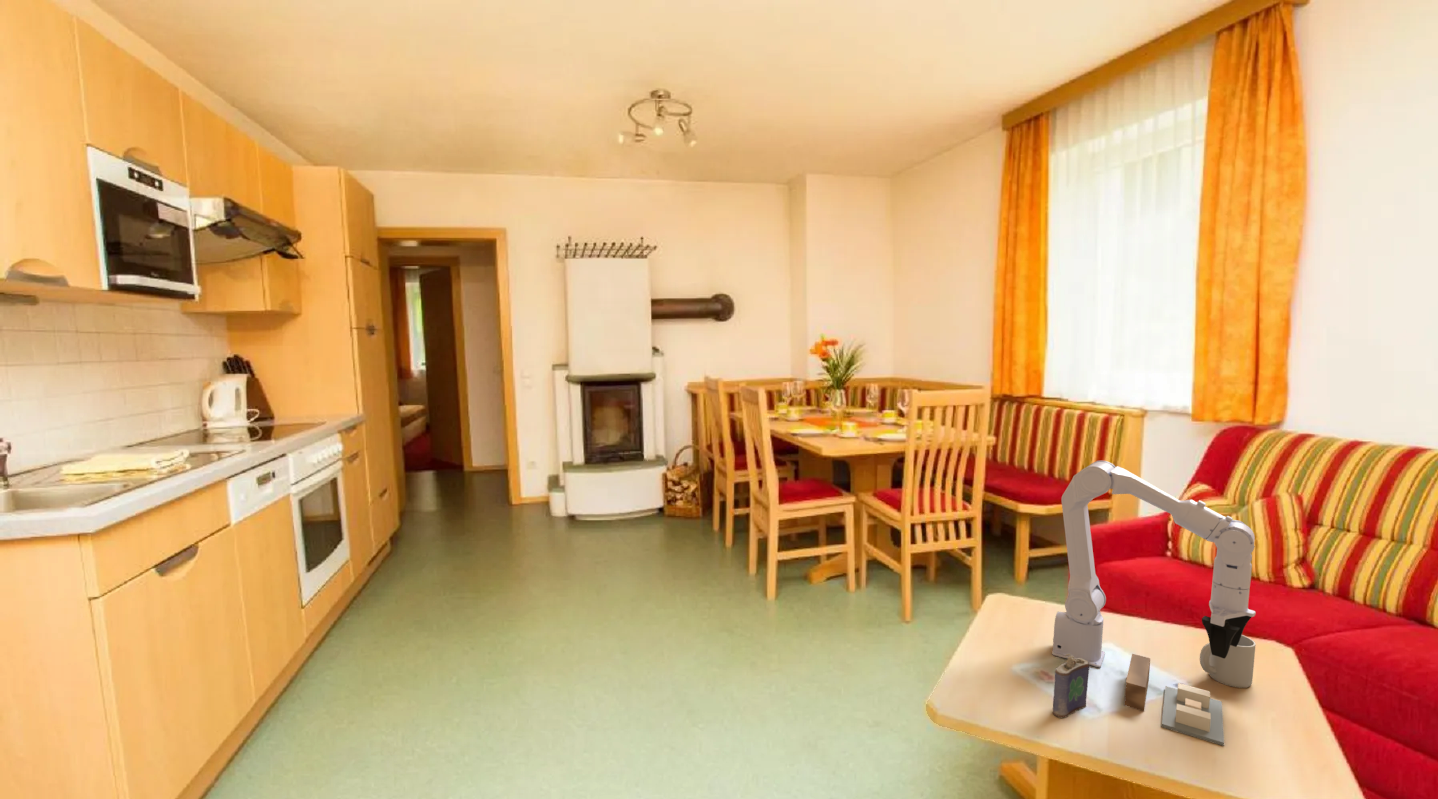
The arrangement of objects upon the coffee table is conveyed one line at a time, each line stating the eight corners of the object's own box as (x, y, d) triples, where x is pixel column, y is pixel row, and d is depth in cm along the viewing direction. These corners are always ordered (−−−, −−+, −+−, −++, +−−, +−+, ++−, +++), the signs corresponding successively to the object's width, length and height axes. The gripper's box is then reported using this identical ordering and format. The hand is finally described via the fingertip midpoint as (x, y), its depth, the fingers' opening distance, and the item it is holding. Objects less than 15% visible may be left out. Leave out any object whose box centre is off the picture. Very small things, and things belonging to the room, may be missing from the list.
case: (1124, 706, 123) (1125, 682, 123) (1130, 676, 134) (1132, 653, 134) (1143, 712, 121) (1145, 687, 121) (1148, 681, 132) (1150, 658, 132)
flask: (1062, 720, 118) (1065, 665, 117) (1047, 712, 121) (1050, 658, 120) (1089, 705, 123) (1093, 653, 122) (1074, 698, 125) (1077, 646, 125)
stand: (1161, 726, 116) (1162, 711, 116) (1165, 688, 129) (1166, 674, 129) (1223, 746, 111) (1225, 729, 111) (1221, 704, 124) (1222, 689, 123)
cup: (1261, 688, 129) (1265, 647, 128) (1212, 688, 129) (1215, 646, 128) (1233, 670, 136) (1236, 630, 135) (1186, 670, 136) (1189, 630, 136)
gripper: (1246, 600, 116) (1239, 670, 117) (1266, 581, 125) (1260, 647, 126) (1200, 587, 122) (1194, 655, 123) (1222, 571, 131) (1216, 634, 132)
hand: (1224, 650), depth 125 cm, fingers open, 7 cm apart
